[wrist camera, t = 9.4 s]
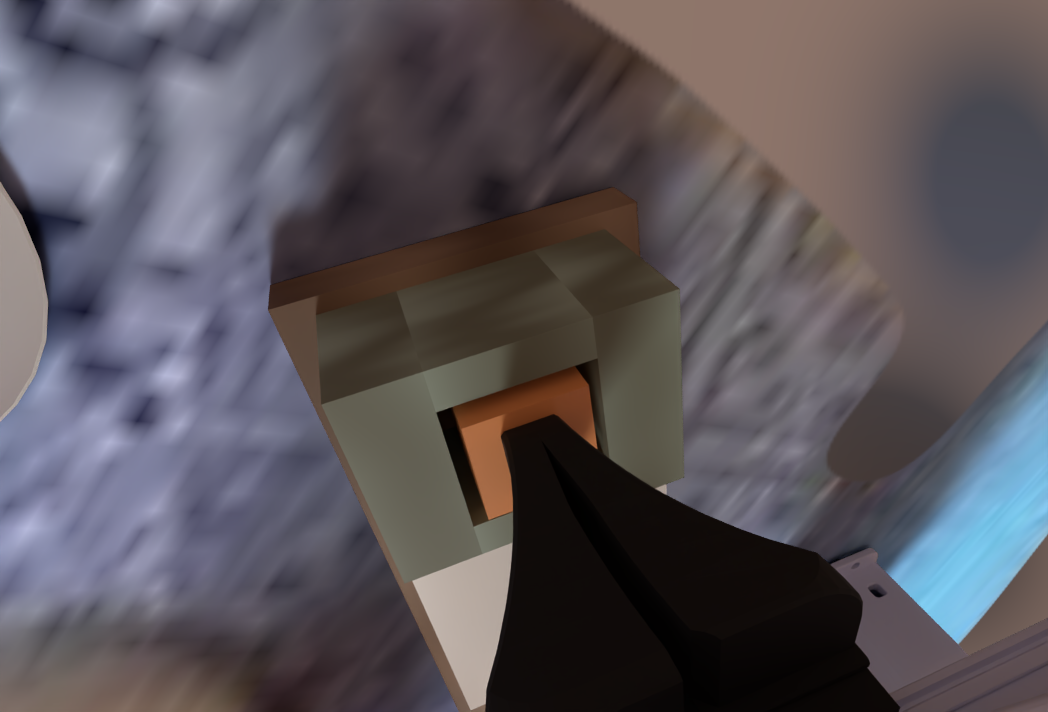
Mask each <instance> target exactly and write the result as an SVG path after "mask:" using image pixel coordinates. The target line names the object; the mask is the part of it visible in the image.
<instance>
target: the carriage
mask: <svg viewBox="0 0 1048 712" xmlns="http://www.w3.org/2000/svg"><path fill="white" fill-rule="evenodd" d="M655 489H657V490H659V491H660V492H662V493H664V494H666V495H667V493H666V484H665V485H663V486H660V487H657V488H655ZM511 558H512V543H510V544H508V545H505V546H502V547H500V548H497V549H495V550H492V551H489V552H487V553H484V554H481V555H479V556H476V557H473V558H471V559H468V560H466V561H463V562H460V563H458V564H455V565H452V566H450V567H447V568H445V569H442V570H439V571H437V572H434V573H431V574H429V575H426V576H424V577H421V578H418V579H416V580H413V581H412V582H413V584H414V586H415V588H416V590H417V593H418V595H419V597H420V599H421V602H422V604H423V606H424V608H425V610H426V613H427V615H428V617H429V619H430V621H431V624H432V626H433V628H434V630H435V633H436V635H437V637H438V639H439V641H440V644H441V646H442V648H443V650H444V652H445V655H446V657H447V659H448V661H449V664H450V666H451V668H452V670H453V672H454V675H455V677H456V679H457V681H458V683H459V686H460V688H461V690H462V692H463V695H464V697H465V699H466V701H467V703H468V706H469V708H470V710H473V709H475V708H477V707H480V706H482V705H484V704H486V688H487V685H488V681H489V677H490V673H491V670H492V666H493V662H494V658H495V655H496V651H497V647H498V642H499V637H500V632H501V627H502V622H503V617H504V612H505V607H506V600H507V594H508V586H509V578H510V569H511Z"/></svg>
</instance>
